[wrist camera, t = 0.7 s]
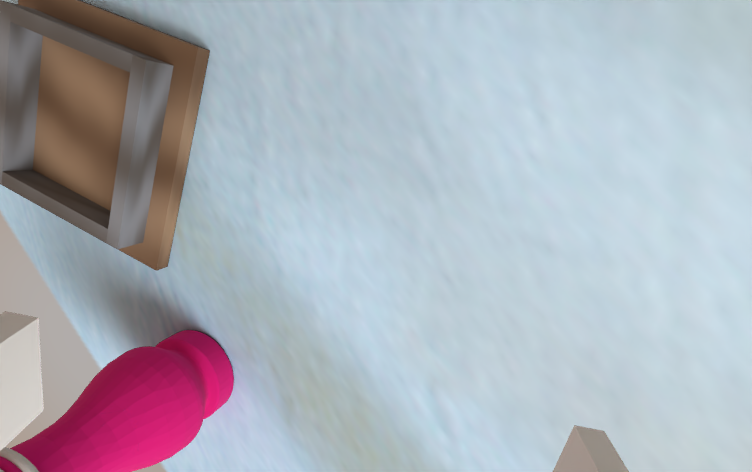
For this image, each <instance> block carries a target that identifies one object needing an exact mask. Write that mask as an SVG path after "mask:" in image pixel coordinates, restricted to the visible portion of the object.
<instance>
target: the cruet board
mask: <svg viewBox="0 0 752 472" xmlns="http://www.w3.org/2000/svg"><path fill="white" fill-rule="evenodd" d="M209 53H210V51H209V50H207V49H204V48H202V47H199V46H197V45H194V44H191V43H189V42H186V41H184V40H181V39H178V38H176V37H173V36H171V35H168V34H165V33H163V32H160V31H158V30H155V29H153V28H150V27H147V26H145V25H142V24H140V23H137V22H134V21H132V20H129V19H127V18H124V17H122V16H119V15H116V14H114V13H111V12H109V11H106V10H103V9H101V8H98V7H96V6H93V5H91V4H88V3H85V2H83V1H80V0H18V5H17V4H13V3H9V2H5V1H1V0H0V184H1V185H3V186H5V187H6V188H8V189H10V190H12V191H14V192H15V193H17V194H19V195H21V196H23V197H24V198H26V199H28V200H30V201H32V202H33V203H35V204H37V205H39V206H41V207H42V208H44V209H46V210H48V211H50V212H51V213H53V214H55V215H57V216H59V217H60V218H62V219H64V220H66V221H68V222H69V223H71V224H73V225H75V226H76V227H78V228H80V229H82V230H84V231H85V232H87V233H89V234H91V235H93V236H94V237H96V238H98V239H100V240H102V241H103V242H105V243H107V244H109V245H111V246H112V247H114V248H116V249H118V250H120V251H122V252H124V253H126V254H127V255H129V256H131V257H133V258H135V259H136V260H138V261H140V262H142V263H144V264H145V265H147V266H149V267H151V268H153V269H154V270H159V269H162V268H165V267H167V266H168V261H169V256H170V251H171V246H172V241H173V236H174V231H175V226H176V221H177V216H178V210H179V205H180V200H181V195H182V190H183V185H184V180H185V175H186V170H187V165H188V160H189V154H190V149H191V144H192V139H193V134H194V129H195V124H196V119H197V114H198V109H199V104H200V98H201V93H202V88H203V83H204V78H205V73H206V68H207V63H208V58H209Z"/></svg>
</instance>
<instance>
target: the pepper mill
mask: <svg viewBox="0 0 752 472" xmlns="http://www.w3.org/2000/svg"><path fill="white" fill-rule="evenodd" d="M233 382H234V377H233V370H232V366H231V364H230V361H229V359H228V357H227V355H226V354H225V352H224V350H223V349H222V348H221V347H220V346H219V345H218V344H217V342H216V341H215V340H213V339H212V338H210V337H209V336H207V335H206V334H204V333H201V332H198V331H193V330H184V331H181V332H178V333H176V334H174V335H172V336H171V337H169V338H167V339H165V340H163V341H162V342H160V343H159V344H157V345H156V346H155V347H150V346H149V347H139V348H134V349H132V350H129V351H127V352H125V353H124V354H122V355H121V356H119V357H118V358H116V359H115V360H113V361H112V362H110V363H109V364H108V365H107V366H105V367H104V368H103V369H102V370H101V371H100V372H99V373H98V374H97V375H96V376H95V377H94V378H93V380H92V381H91V382H90V384H89V385H88V386H87V387H86V388H85V390H84V391H83V393H82V394H81V395H80V397H79V398H78V400H77V401H76V402H75V403H74V404H73V405H72V406H71V407H70V409H69V410H68V411H67V412H66V413H65V414H64V415H63V416H62V417H61V418H60V419H58V420H57V421H56V422H55V423H54V424H52V425H51V426H49V427H48V428H47V429H45V430H43V431H42V432H40V433H39V434H37V435H36V436H34V437H33V438H31V439H29V440H27V441H25V442H23V443H21V444H18V445H16V446H14V447H12V448H10V449H9V448H5V447H4V448H3V449H2V450H1V451H0V472H132V471H135V470H138V469H142V468H146V467H149V466H151V465H154V464H157V463H159V462H161V461H163V460H165V459H167V458H170V457H172V456H173V455H174V454H176V453H177V452H179V451H180V450H181V449H183V448H184V447H186V446H187V445H188V444H189V443H190V442H191V441H192V440H193V439H194V438H195V437H196V435H197V433H198V432H199V430H200V427H201V425H202V422H203V419H205V418H207V417H209V416H210V415H212V414H213V413H214V412H215V411H216V410H217V409H219V408H220V407H221V406H222V405H223V404H224V403H226V402H227V400H228V399H229V397H230V395H231V393H232V390H233Z"/></svg>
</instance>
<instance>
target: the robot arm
mask: <svg viewBox="0 0 752 472" xmlns="http://www.w3.org/2000/svg"><path fill="white" fill-rule="evenodd" d="M42 411H43V392H42V374H41V355H40V336H39V318H36V317H32V316H27V315H22V314H17V313H12V312H6V311H5V312H4V313H2V314H0V451H1V450H2V449H3V448H4V447H5V446H6V445H7V444H8V443H9V442H10V441H11V440H13V439H14V438H15V437H16V436H17V435H18V434H19V433H20V432H21V431H22V430H23V429H24V428H25V427H26V426H27V425H28V424H29V423H31V422H32V421H33V420H34V419H35V418H36V417H37V416H38V415H39V414H40V413H41V412H42ZM553 472H629V471H628V470H627V468H626V466H625V465H624V463H623V461H622V460H621V458H620V456H619V455H618V453H617V451H616V450H615V448H614V447H613V445H612V443H611V442H610V440H609V438H608V437H607V435H606V433H605V432H604V431H601V430H596V429H591V428H586V427H581V426H576V425H574V427H573V430H572V432H571V434H570V436H569V438H568V440H567V442H566V445H565V447H564V449H563V451H562V453H561V455H560V457H559V460H558V462H557V464H556V466H555V468H554V470H553Z"/></svg>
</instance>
